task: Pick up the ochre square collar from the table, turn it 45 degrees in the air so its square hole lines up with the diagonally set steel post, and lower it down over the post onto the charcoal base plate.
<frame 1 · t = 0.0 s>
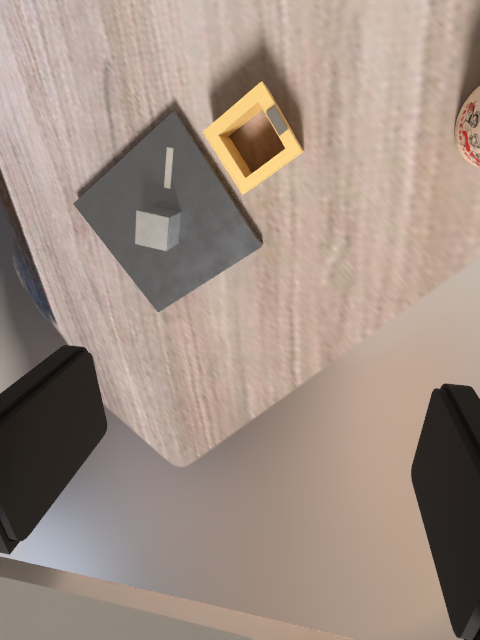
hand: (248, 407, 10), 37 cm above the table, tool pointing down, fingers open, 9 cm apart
post plate: (169, 222, 47), on the table
collar: (258, 142, 41), on the table
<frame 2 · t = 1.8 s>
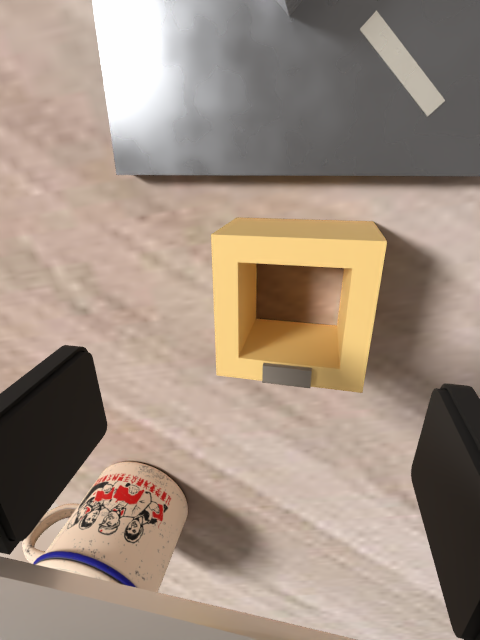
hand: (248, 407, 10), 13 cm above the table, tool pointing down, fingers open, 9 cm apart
teacup with lid: (130, 490, 33), on the table
collar: (298, 283, 21), on the table
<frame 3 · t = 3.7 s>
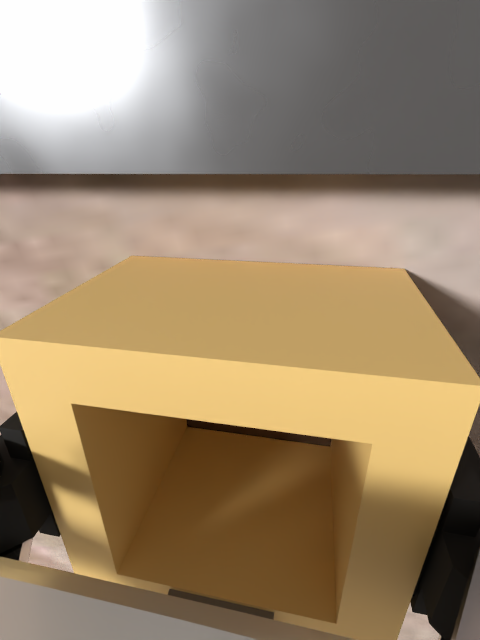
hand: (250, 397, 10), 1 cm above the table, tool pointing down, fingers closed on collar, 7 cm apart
collar: (256, 376, 11), on the table, touching gripper
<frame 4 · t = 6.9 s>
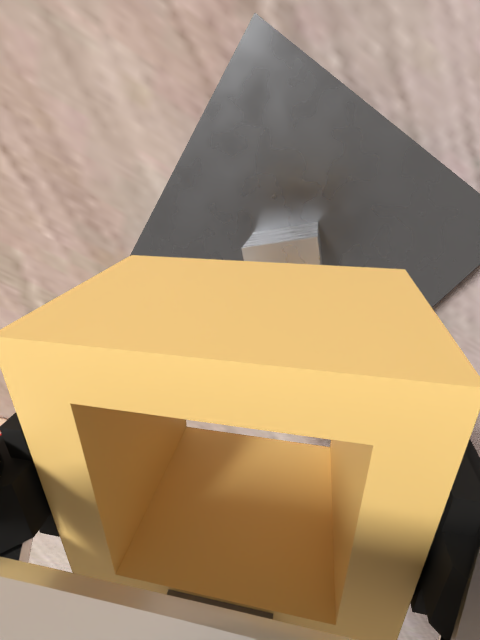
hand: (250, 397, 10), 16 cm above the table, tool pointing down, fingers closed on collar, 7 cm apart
post plate: (291, 252, 24), on the table
collar: (256, 376, 11), point 15 cm above the table, touching gripper
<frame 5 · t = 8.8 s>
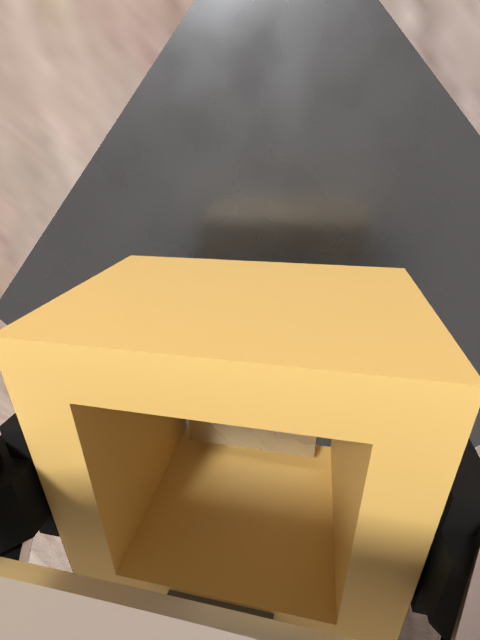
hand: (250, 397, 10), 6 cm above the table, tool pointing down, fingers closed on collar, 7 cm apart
post plate: (272, 319, 15), on the table
collar: (256, 375, 11), point 5 cm above the table, touching gripper
when the fingers open (3 cm above the table, at t = 10.2 s): collar stays where it is, resting on post plate.
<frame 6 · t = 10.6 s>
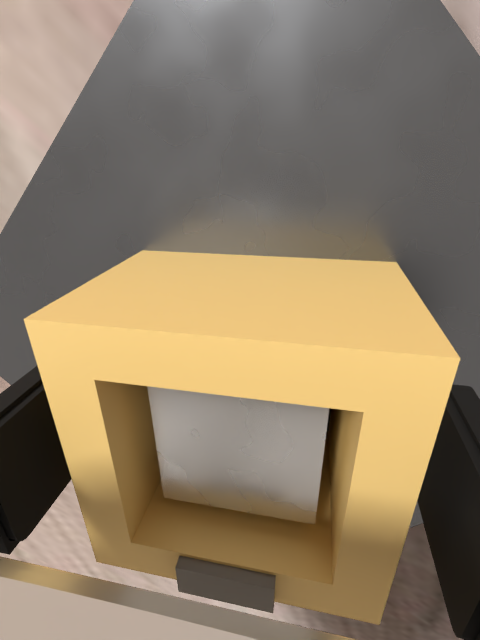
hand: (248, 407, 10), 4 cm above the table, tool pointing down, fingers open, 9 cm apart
post plate: (266, 341, 13), on the table
collar: (259, 364, 12), point 1 cm above the table, touching post plate
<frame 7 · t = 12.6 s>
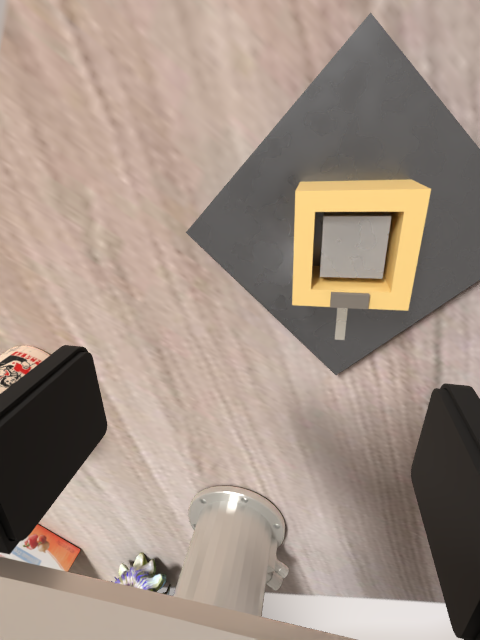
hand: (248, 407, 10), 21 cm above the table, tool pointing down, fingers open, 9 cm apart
post plate: (348, 228, 28), on the table
passion flower: (155, 569, 57), on the table
cracker box: (41, 531, 59), on the table
teacup with lid: (29, 366, 42), on the table
collar: (348, 234, 26), point 1 cm above the table, touching post plate
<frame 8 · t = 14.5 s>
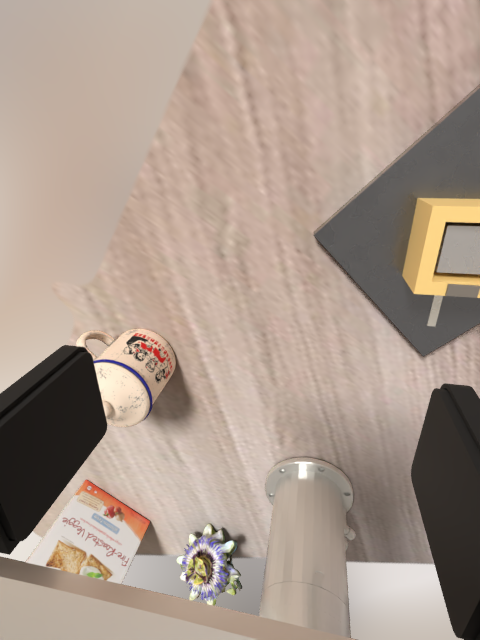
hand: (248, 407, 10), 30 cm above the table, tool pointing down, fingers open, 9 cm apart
post plate: (447, 236, 35), on the table
passion flower: (219, 540, 63), on the table
cracker box: (113, 504, 65), on the table
teacup with lid: (139, 347, 48), on the table
collar: (451, 240, 33), point 1 cm above the table, touching post plate
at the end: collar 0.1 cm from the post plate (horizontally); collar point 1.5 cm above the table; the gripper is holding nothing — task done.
